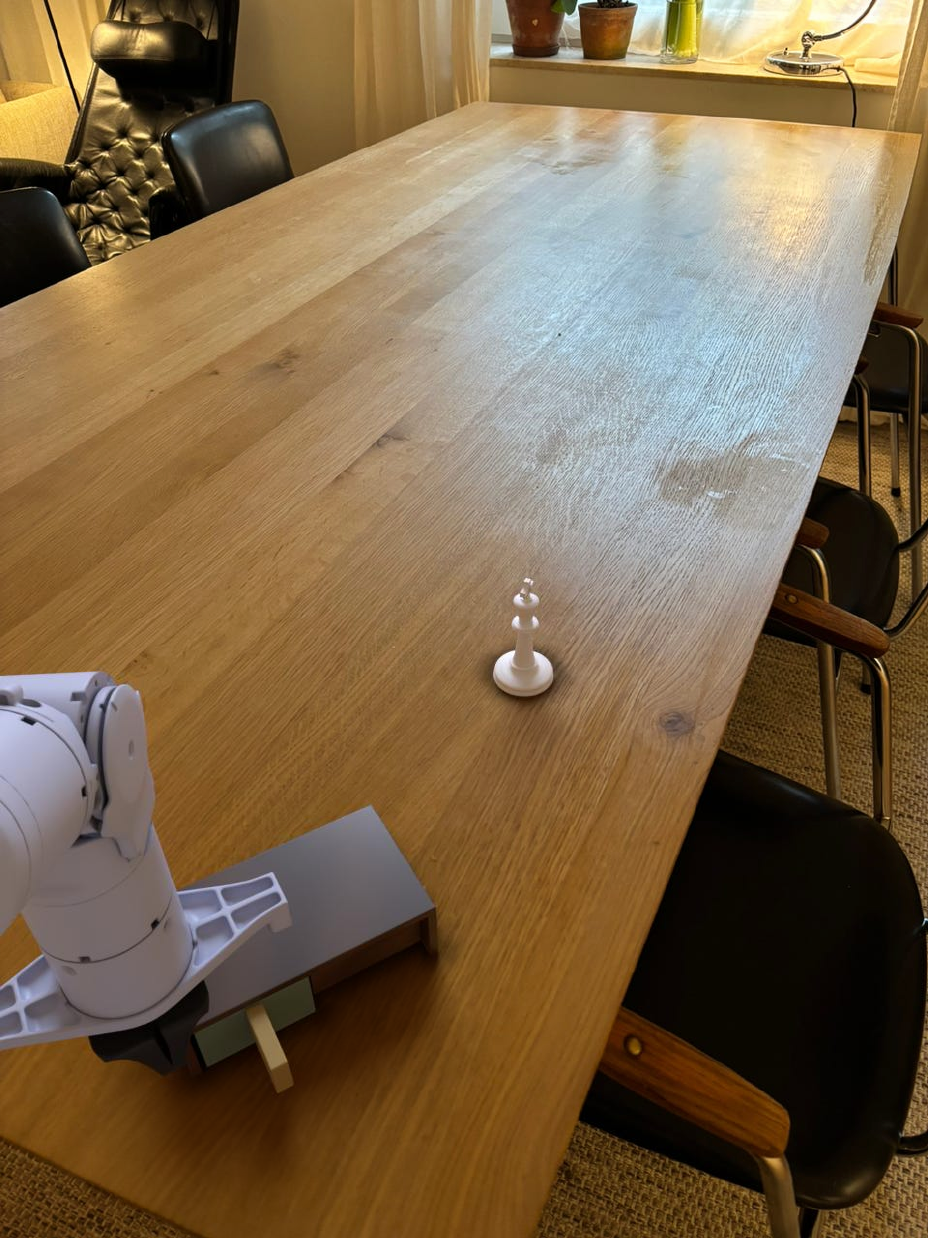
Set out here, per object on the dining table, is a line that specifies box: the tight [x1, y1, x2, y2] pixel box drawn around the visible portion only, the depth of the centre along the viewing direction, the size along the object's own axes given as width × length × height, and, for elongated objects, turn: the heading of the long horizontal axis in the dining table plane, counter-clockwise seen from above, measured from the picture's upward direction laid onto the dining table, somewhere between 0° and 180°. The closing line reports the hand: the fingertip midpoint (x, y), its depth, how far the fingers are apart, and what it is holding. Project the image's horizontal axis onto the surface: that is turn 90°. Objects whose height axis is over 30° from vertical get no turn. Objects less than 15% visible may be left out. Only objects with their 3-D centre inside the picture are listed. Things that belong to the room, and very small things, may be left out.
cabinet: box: [176, 804, 439, 1079], centre depth 61 cm, size 16×9×5 cm, turn 120°
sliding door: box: [193, 977, 316, 1094], centre depth 56 cm, size 7×5×4 cm
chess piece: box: [492, 577, 554, 697], centre depth 78 cm, size 5×5×10 cm
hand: (169, 1053), depth 50 cm, fingers closed
